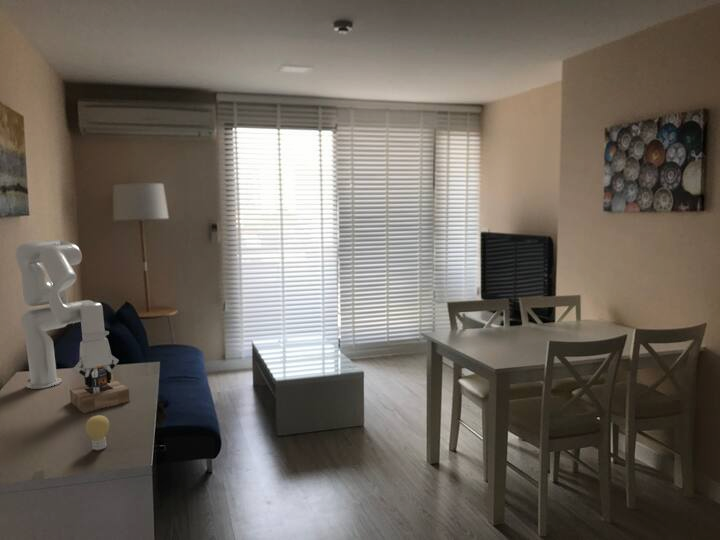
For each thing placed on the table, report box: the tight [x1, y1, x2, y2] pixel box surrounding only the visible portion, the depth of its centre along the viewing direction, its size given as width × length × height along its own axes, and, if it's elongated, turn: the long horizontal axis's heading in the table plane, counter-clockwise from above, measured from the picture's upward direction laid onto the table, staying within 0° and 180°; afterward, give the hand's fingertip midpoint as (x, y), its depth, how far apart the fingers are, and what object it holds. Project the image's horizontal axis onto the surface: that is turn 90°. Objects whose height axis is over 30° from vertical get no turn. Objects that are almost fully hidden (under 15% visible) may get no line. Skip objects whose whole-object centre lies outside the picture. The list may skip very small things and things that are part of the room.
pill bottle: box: [89, 366, 108, 394], centre depth 209 cm, size 6×6×11 cm
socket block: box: [69, 378, 131, 414], centre depth 210 cm, size 16×16×5 cm
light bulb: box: [85, 414, 110, 451], centre depth 168 cm, size 6×6×10 cm
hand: (98, 384), depth 210 cm, fingers closed on pill bottle, 6 cm apart
